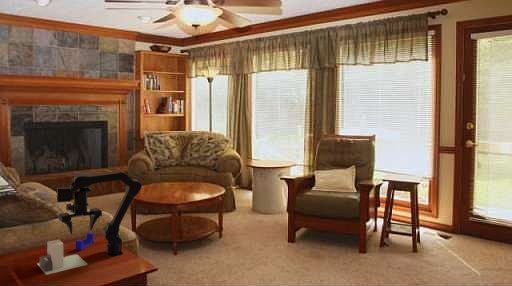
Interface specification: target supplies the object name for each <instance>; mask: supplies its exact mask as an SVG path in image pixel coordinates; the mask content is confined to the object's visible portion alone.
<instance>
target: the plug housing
mask: <svg viewBox="0 0 512 286" xmlns="http://www.w3.org/2000/svg"><path fill="white" fill-rule="evenodd" d="M46 244H47V245H46V248H47V256H48V257H49V259H50V260H51V261H52V268H53V269H55V268H59V267H63V266H64V261H63V257H64V243H63V242H62V241H61V240H60V239H55V240H50V241H47V243H46Z"/></svg>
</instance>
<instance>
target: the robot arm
mask: <svg viewBox="0 0 512 286" xmlns="http://www.w3.org/2000/svg"><path fill="white" fill-rule="evenodd" d="M117 181H121V182H122V183H124V184H125V185H126V186H125V192H124V195H123V197H122V200H121V201H120V203H119V205H118V207H117V209H116V211H115V213H114V215H113V218H112V219H111V220H110V221H109V222H108V221H106V222H105V226H104V227H103V228H102V229H103V236H104V238H105V240H106V241H107V242H106V247H105V249H106V250H105V253H106V254H107V255H108V257H115V256H120V255H123V254H124V252H123V250H122V249H123V247H122V246H123V239H122V237H121V235H120V234H119V232H120V227H121V223H122V221H123V219H124V217H125V215H126V213H127V211H128V209H129V207H130V206H131V203H132V201H133V199H134V198H135V197H136V196H138V194H139V193H140V191H141V189H142V187H143V186H142V184H141V182H140V181H139V180H138V179H137V178H132V177H131V176H129V174H127V173H125V172H124V171H123V170H118V171H111V172H102V173H96V174H95V173H94V174H92V173H91V174H90V173H77V174H75V175H74V177H73V181H72V182H71V184H70V185H68V186H69V187H57V188H56V203H59V204H60V203H65V204H66V205H65V209H66V211H70V213H71V214H70V213H68V212H63V213H59V215H58V221H60V222H61V223H62V224H65V225H66V227H67V228H68V232H69V233H70V235H73V222H72V219H77V218H83V217H88V216H89V231H93V227H94V225H95V224H96V222H97V221H98V219H100V217H103V211H102V210H101V209H100V208H99V207H94V208H93V207H92V208H90V209H89V211H88V207H89V203H88V192H92V188H91V187H90V186H92V185H95V184H101V183H108V182H117ZM72 200H73V203H69V202H71V201H72Z"/></svg>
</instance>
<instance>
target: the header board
mask: <svg viewBox="0 0 512 286" xmlns="http://www.w3.org/2000/svg"><path fill="white" fill-rule="evenodd" d="M63 261H64V266H63V267H59V268H55V269H53V268H52V261H51V260H50V259H49V257H48V255H43V256H39V262H37V263H36V264H37V265H38V267H39V268H40V270H42V272H43V273H44V275H46V276H48V275H51V274H55V273H60V272H63V271H67V270H71V269H75V268H79V267H84V266H87V265H88V263H87V262H86V261H85V260H83V259H82V258H81V257H80V256H79V255H78V254H72V255H67V256H63Z"/></svg>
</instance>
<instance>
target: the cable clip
mask: <svg viewBox="0 0 512 286" xmlns="http://www.w3.org/2000/svg"><path fill="white" fill-rule="evenodd" d="M94 243H95V233H94V232H87V233H86V237H85V238H83V240H82V239H81V240H80V239H76V240H75V251H79V252H82V251H83V250H85V249H86V248H87V247H89V246H90V245H92V244H94Z"/></svg>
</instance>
